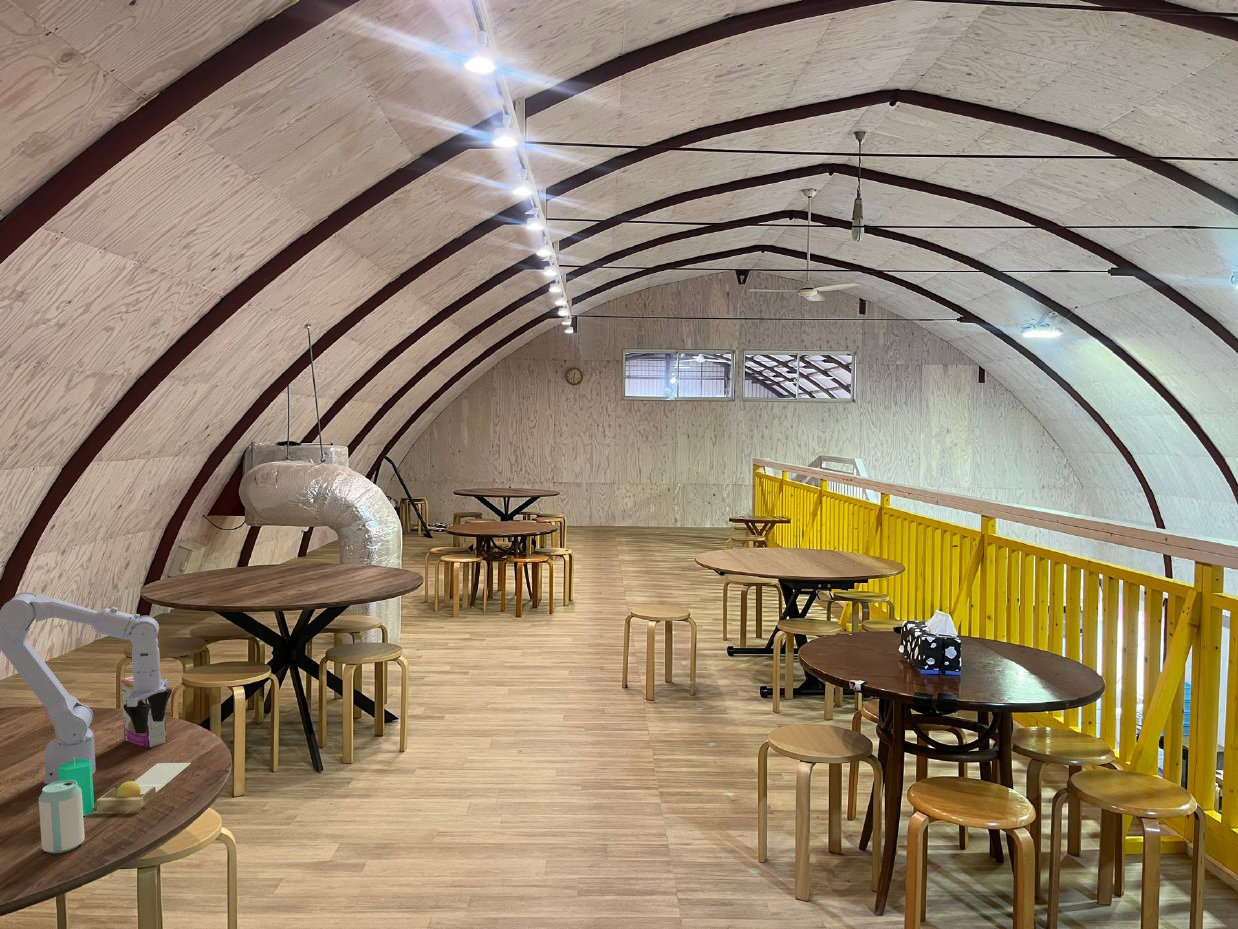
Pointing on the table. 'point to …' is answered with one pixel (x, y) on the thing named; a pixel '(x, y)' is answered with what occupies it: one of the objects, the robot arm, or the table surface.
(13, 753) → the table surface
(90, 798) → the candle
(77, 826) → the can
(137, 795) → the ball
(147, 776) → the lane
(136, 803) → the rail
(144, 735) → the candy bar box
